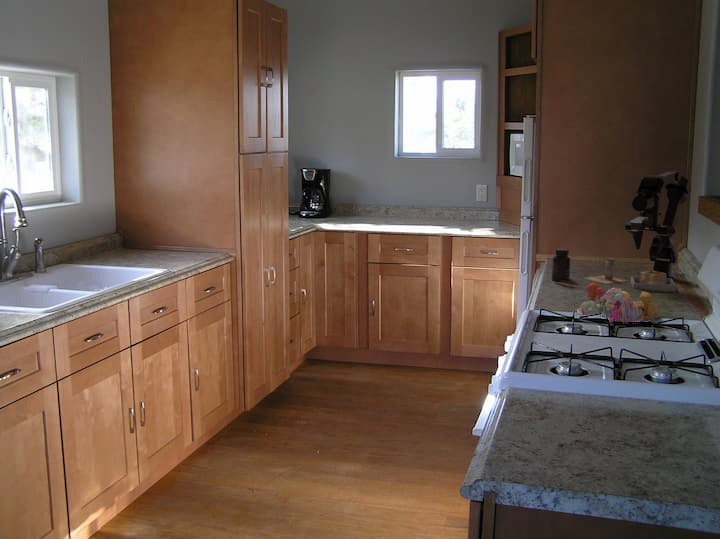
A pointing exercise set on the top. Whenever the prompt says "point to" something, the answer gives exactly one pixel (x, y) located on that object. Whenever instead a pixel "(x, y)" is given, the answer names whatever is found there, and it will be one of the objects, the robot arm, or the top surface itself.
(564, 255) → the supplement bottle
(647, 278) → the hollow wooden box
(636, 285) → the slate tray
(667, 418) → the top surface
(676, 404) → the top surface
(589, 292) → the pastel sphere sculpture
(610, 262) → the stake block
